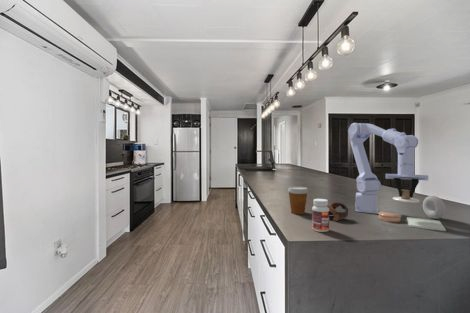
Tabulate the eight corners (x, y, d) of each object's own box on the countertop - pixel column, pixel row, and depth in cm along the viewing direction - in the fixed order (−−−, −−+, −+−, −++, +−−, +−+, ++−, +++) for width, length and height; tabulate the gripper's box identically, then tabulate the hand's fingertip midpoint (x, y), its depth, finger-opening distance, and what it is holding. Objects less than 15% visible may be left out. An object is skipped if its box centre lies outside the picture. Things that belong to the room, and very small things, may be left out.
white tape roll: (447, 221, 103) (448, 197, 103) (439, 221, 103) (440, 198, 103) (427, 215, 113) (428, 193, 113) (420, 215, 113) (420, 193, 113)
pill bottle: (324, 233, 89) (324, 202, 89) (308, 229, 94) (308, 199, 93) (332, 229, 93) (332, 200, 93) (317, 226, 98) (317, 197, 97)
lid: (392, 200, 101) (392, 190, 101) (392, 197, 109) (392, 187, 109) (420, 203, 97) (420, 192, 97) (418, 199, 104) (418, 189, 104)
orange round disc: (377, 220, 105) (377, 214, 105) (378, 216, 113) (378, 210, 112) (402, 223, 101) (402, 217, 101) (400, 218, 108) (400, 213, 108)
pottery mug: (343, 217, 113) (349, 203, 109) (343, 231, 105) (350, 217, 101) (317, 208, 116) (321, 195, 112) (315, 222, 108) (320, 208, 104)
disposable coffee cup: (296, 216, 113) (297, 190, 112) (283, 211, 121) (283, 187, 121) (312, 213, 117) (312, 188, 117) (298, 209, 126) (298, 185, 125)
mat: (409, 226, 97) (409, 224, 97) (406, 218, 108) (406, 216, 108) (445, 231, 91) (445, 229, 91) (439, 222, 102) (439, 220, 102)
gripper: (385, 164, 103) (385, 196, 103) (429, 165, 95) (429, 200, 96) (385, 163, 109) (385, 194, 109) (427, 164, 101) (426, 197, 102)
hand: (405, 196), depth 103 cm, fingers closed on lid, 3 cm apart
